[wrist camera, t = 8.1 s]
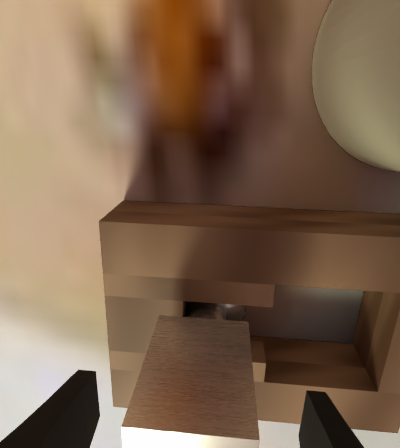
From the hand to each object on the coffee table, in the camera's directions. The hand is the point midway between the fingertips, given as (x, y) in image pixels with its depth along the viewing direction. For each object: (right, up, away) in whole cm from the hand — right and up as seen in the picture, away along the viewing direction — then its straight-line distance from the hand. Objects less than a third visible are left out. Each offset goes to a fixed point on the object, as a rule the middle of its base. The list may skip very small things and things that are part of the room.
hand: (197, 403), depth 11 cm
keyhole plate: (+3, +2, +7) cm, 8 cm away
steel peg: (+1, +2, +7) cm, 7 cm away
